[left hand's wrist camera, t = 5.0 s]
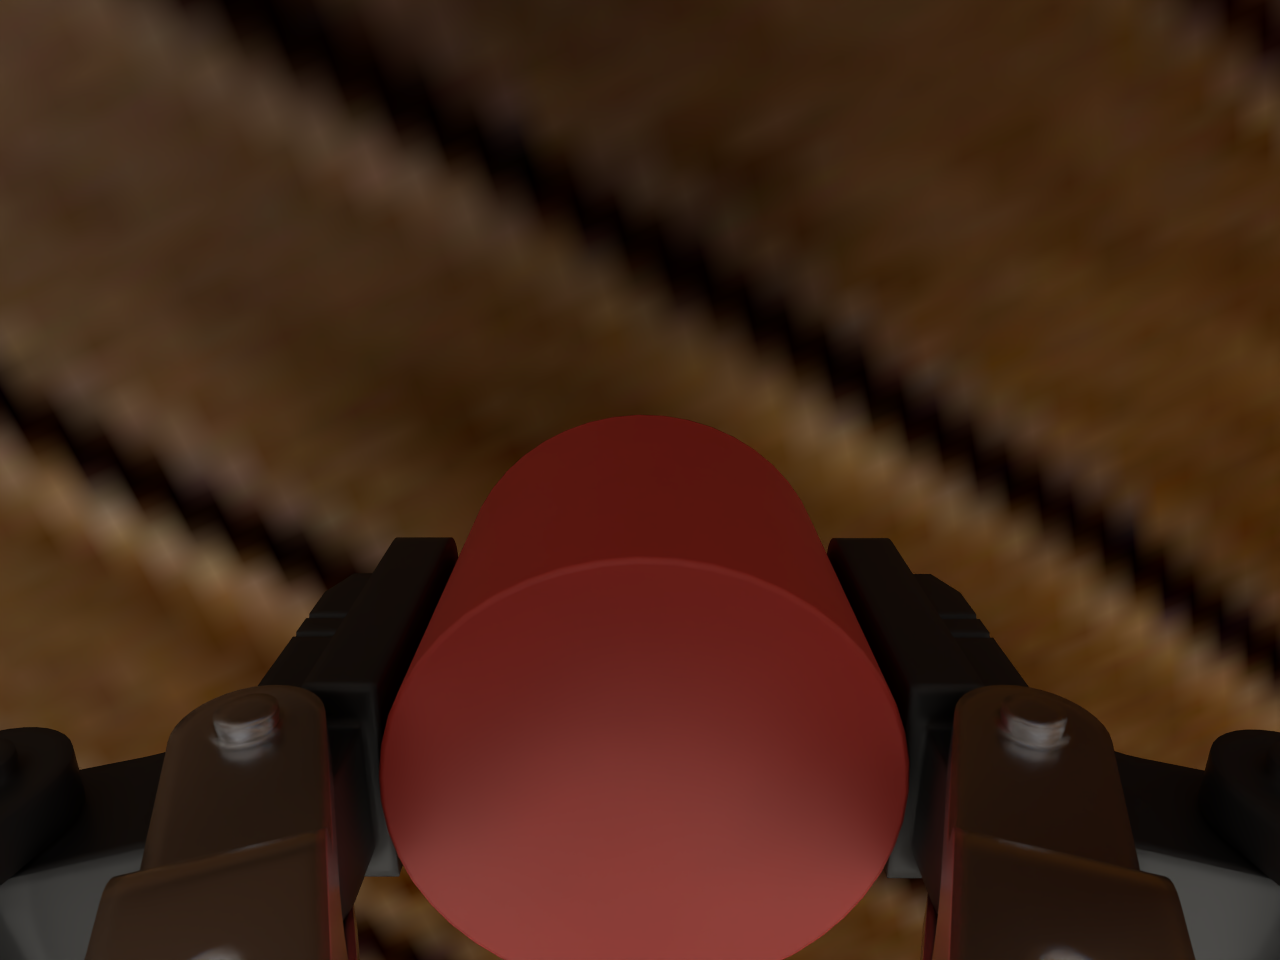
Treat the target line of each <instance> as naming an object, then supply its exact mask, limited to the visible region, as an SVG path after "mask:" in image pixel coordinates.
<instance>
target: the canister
mask: <svg viewBox="0 0 1280 960" xmlns="http://www.w3.org/2000/svg"><path fill="white" fill-rule="evenodd" d="M379 783H380V796H381V804H382V808H383V812H384V816H385V820H386V825H387V829H388V832H389V835H390V837H391V840H392V842H393V845H394V847H395V849H396V852H397V854H398V857H399V859H400V860H401V862H402V864H403V865H404V867H405V869H406V871H407V872H408V874H409V876H410V877H411V879H412V881H413V882H414V884H415V885H416V886H417V887H418V889H419V890H420V891H421V892H422V894H423V895H424V896H425V898H426V899H427V900H428V901H429V903H430V904H431V905H432V906H433V907H434V908H435V909H436V910H437V911H438V912H439V913H440V914H441V915H442V916H443V917H444V918H445V919H446V920H447V921H448V922H449V923H450V924H451V925H453V926H454V927H455V928H457V929H458V930H459V931H461V932H462V933H463V934H465V935H466V936H467V937H468V938H470V939H471V940H472V941H474V942H475V943H477V944H478V945H480V946H482V947H483V948H485V949H487V950H488V951H490V952H492V953H493V954H495V955H497V956H498V957H500V958H502V959H504V960H783V959H785V958H787V957H789V956H791V955H793V954H795V953H797V952H798V951H800V950H802V949H803V948H805V947H806V946H808V945H809V944H811V943H812V942H814V941H815V940H817V939H818V938H820V937H821V936H823V935H824V934H825V933H826V932H827V931H829V930H830V929H831V928H832V927H833V926H835V925H836V924H837V923H838V922H839V921H841V920H842V919H843V918H844V917H845V916H846V915H847V914H848V913H849V912H850V911H851V910H852V909H853V908H854V907H855V906H856V904H857V903H858V902H859V901H860V900H861V899H862V898H863V897H864V896H865V894H866V893H867V892H868V890H869V889H870V887H871V886H872V885H873V883H874V882H875V880H876V879H877V878H878V876H879V875H880V873H881V872H882V870H883V868H884V866H885V864H886V862H887V860H888V858H889V856H890V854H891V853H892V851H893V849H894V846H895V843H896V841H897V838H898V835H899V832H900V829H901V826H902V823H903V820H904V814H905V809H906V803H907V798H908V792H909V754H908V747H907V740H906V733H905V730H904V727H903V723H902V720H901V717H900V714H899V711H898V707H897V704H896V702H895V700H894V698H893V696H892V694H891V691H890V689H889V687H888V685H887V683H886V681H885V679H884V676H883V674H882V672H881V670H880V668H879V666H878V663H877V661H876V659H875V657H874V655H873V653H872V651H871V648H870V646H869V644H868V642H867V640H866V638H865V636H864V633H863V631H862V629H861V627H860V625H859V623H858V621H857V618H856V616H855V614H854V612H853V610H852V608H851V606H850V603H849V601H848V599H847V597H846V595H845V593H844V590H843V588H842V586H841V584H840V582H839V580H838V578H837V575H836V573H835V571H834V569H833V567H832V565H831V563H830V560H829V558H828V556H827V554H826V552H825V550H824V548H823V545H822V543H821V541H820V539H819V537H818V535H817V533H816V530H815V528H814V526H813V524H812V522H811V520H810V518H809V516H808V514H807V512H806V510H805V508H804V506H803V503H802V501H801V500H800V498H799V497H798V495H797V494H796V492H795V491H794V490H793V488H792V487H791V485H790V484H789V482H788V481H787V480H786V479H785V478H784V477H783V476H782V475H781V473H780V472H779V471H778V470H777V469H776V468H775V467H774V466H773V465H772V464H771V463H770V462H769V461H767V460H766V459H765V458H764V457H762V456H761V455H760V454H759V453H758V452H756V451H755V450H754V449H752V448H751V447H749V446H747V445H746V444H744V443H743V442H741V441H739V440H738V439H736V438H734V437H732V436H730V435H728V434H726V433H724V432H721V431H719V430H717V429H715V428H712V427H709V426H706V425H703V424H700V423H696V422H693V421H690V420H685V419H679V418H673V417H667V416H653V415H632V416H620V417H612V418H607V419H602V420H598V421H593V422H589V423H586V424H583V425H580V426H577V427H575V428H572V429H569V430H566V431H564V432H562V433H560V434H558V435H556V436H554V437H552V438H550V439H548V440H546V441H544V442H543V443H542V444H540V445H539V446H537V447H536V448H534V449H533V450H531V451H530V452H528V453H527V454H526V455H524V456H523V457H522V458H521V459H520V460H519V461H518V462H517V463H515V464H514V465H513V466H512V467H511V468H510V469H509V470H508V471H507V472H506V473H505V474H504V476H503V477H502V478H501V479H500V480H499V482H498V483H497V484H496V485H495V486H494V488H493V489H492V491H491V492H490V494H489V495H488V497H487V499H486V500H485V502H484V504H483V505H482V507H481V509H480V511H479V513H478V515H477V518H476V520H475V522H474V524H473V527H472V529H471V531H470V533H469V535H468V538H467V540H466V542H465V544H464V547H463V549H462V551H461V553H460V555H459V558H458V560H457V562H456V564H455V567H454V569H453V571H452V573H451V575H450V578H449V580H448V582H447V584H446V587H445V589H444V591H443V593H442V595H441V598H440V600H439V602H438V604H437V607H436V609H435V611H434V613H433V615H432V618H431V620H430V622H429V624H428V627H427V629H426V631H425V633H424V635H423V638H422V640H421V642H420V644H419V647H418V649H417V651H416V653H415V656H414V658H413V660H412V662H411V664H410V667H409V669H408V671H407V673H406V676H405V678H404V680H403V682H402V684H401V687H400V689H399V691H398V694H397V696H396V698H395V701H394V703H393V705H392V707H391V710H390V712H389V714H388V718H387V722H386V726H385V730H384V734H383V738H382V742H381V751H380V763H379Z"/></svg>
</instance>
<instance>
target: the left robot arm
mask: <svg viewBox="0 0 1280 960" xmlns="http://www.w3.org/2000/svg"><path fill="white" fill-rule="evenodd" d="M827 556H828V558H829V560H830V563H831V565H832V567H833V569H834V571H835V573H836V575H837V578H838V580H839V582H840V584H841V586H842V588H843V590H844V593H845V595H846V597H847V599H848V601H849V603H850V606H851V608H852V610H853V612H854V614H855V616H856V618H857V621H858V623H859V625H860V627H861V629H862V631H863V633H864V636H865V638H866V640H867V642H868V644H869V646H870V648H871V651H872V653H873V655H874V657H875V659H876V661H877V663H878V666H879V668H880V670H881V672H882V674H883V676H884V679H885V681H886V683H887V685H888V687H889V689H890V691H891V694H892V696H893V698H894V700H895V702H896V704H897V707H898V711H899V714H900V717H901V720H902V723H903V727H904V730H905V733H906V740H907V747H908V754H909V792H908V798H907V803H906V809H905V814H904V820H903V823H902V826H901V829H900V832H899V835H898V838H897V841H896V843H895V846H894V849H893V851H892V853H891V854H890V856H889V858H888V860H887V862H886V864H885V866H884V870H885V873H886V876H887V878H922V879H923V881H924V884H925V886H926V889H927V892H928V896H927V903H926V909H925V916H924V923H923V933H922V946H921V959H920V960H1280V732H1275V731H1266V730H1239V731H1233V732H1229V733H1226V734H1224V735H1222V736H1220V737H1218V738H1217V739H1216V740H1215V741H1214V742H1213V744H1212V747H1211V749H1210V753H1209V757H1208V761H1207V764H1206V768H1205V771H1203V770H1198V769H1193V768H1188V767H1183V766H1178V765H1173V764H1168V763H1163V762H1158V761H1152V760H1147V759H1142V758H1138V757H1134V756H1129V755H1125V754H1122V753H1119V752H1116V751H1114V748H1113V743H1112V740H1111V737H1110V735H1109V733H1108V731H1107V730H1106V728H1105V727H1104V725H1103V724H1102V723H1101V722H1100V721H1099V720H1098V719H1097V718H1096V717H1095V716H1093V715H1092V714H1091V713H1089V712H1088V711H1087V710H1085V709H1084V708H1082V707H1080V706H1079V705H1077V704H1075V703H1073V702H1071V701H1069V700H1067V699H1065V698H1063V697H1060V696H1058V695H1055V694H1052V693H1049V692H1046V691H1043V690H1039V689H1034V688H1030V687H1028V685H1027V684H1026V683H1025V681H1024V680H1023V678H1022V677H1021V676H1020V674H1019V673H1018V672H1017V670H1016V669H1015V667H1014V666H1013V665H1012V663H1011V662H1010V661H1009V659H1008V658H1007V656H1006V655H1005V654H1004V652H1003V651H1002V649H1001V648H1000V647H999V645H998V644H997V643H996V641H995V640H994V638H990V636H989V632H988V630H987V629H986V627H985V626H984V625H983V623H982V622H981V621H980V619H976V614H975V612H974V611H973V610H972V608H971V607H970V605H969V604H968V603H967V601H966V600H965V599H964V597H963V596H962V594H961V593H960V592H958V591H957V590H955V589H953V588H952V587H950V586H949V585H947V584H946V583H944V582H942V581H941V580H939V579H938V578H936V577H934V576H933V575H931V574H912V572H911V571H910V569H909V567H908V566H907V564H906V563H905V561H904V560H903V558H902V557H901V555H900V554H899V552H898V550H897V549H896V547H895V546H894V544H893V543H892V541H891V540H890V539H888V538H832V539H831V541H830V543H829V546H828V551H827ZM457 560H458V553H457V547H456V543H455V541H454V539H453V538H395V539H394V541H393V542H392V544H391V545H390V547H389V548H388V550H387V551H386V553H385V555H384V556H383V558H382V559H381V561H380V563H379V564H378V566H377V567H376V569H375V570H374V572H373V573H354V574H353V575H351V576H349V577H348V578H346V579H345V580H343V581H342V582H340V583H338V584H337V585H335V586H334V587H332V588H331V589H329V590H327V591H326V592H325V593H324V594H323V595H322V597H321V598H320V600H319V601H318V602H317V604H316V605H315V607H314V608H313V609H312V611H311V612H310V614H309V618H306V619H305V621H304V622H303V623H302V625H301V626H300V628H299V629H298V630H297V632H296V637H292V639H291V640H290V642H289V643H288V644H287V646H286V647H285V649H284V650H283V651H282V653H281V654H280V656H279V657H278V658H277V660H276V661H275V663H274V664H273V665H272V667H271V668H270V670H269V671H268V672H267V674H266V675H265V676H264V678H263V679H262V681H261V682H260V683H259V685H258V686H256V687H250V688H246V689H241V690H237V691H234V692H231V693H228V694H225V695H222V696H220V697H217V698H215V699H213V700H211V701H209V702H207V703H205V704H203V705H201V706H200V707H198V708H196V709H195V710H193V711H192V712H191V713H189V714H188V715H187V716H185V717H184V718H183V719H182V720H181V721H180V722H179V723H178V724H177V725H176V727H175V728H174V730H173V731H172V733H171V735H170V737H169V740H168V743H167V748H166V752H164V753H160V754H156V755H152V756H148V757H143V758H138V759H133V760H128V761H123V762H117V763H112V764H107V765H102V766H97V767H92V768H87V769H82V770H79V767H78V764H77V760H76V756H75V753H74V749H73V745H72V743H71V741H70V739H69V738H68V737H67V736H66V735H64V734H62V733H60V732H59V731H56V730H52V729H48V728H39V727H23V728H14V729H7V730H1V731H0V960H360V959H359V946H358V933H357V923H356V916H355V909H354V902H355V900H356V897H357V895H358V892H359V889H360V887H361V884H362V882H363V879H364V876H399V875H400V872H401V869H402V866H403V864H402V862H401V860H400V859H399V857H398V854H397V852H396V849H395V847H394V845H393V842H392V840H391V837H390V835H389V832H388V829H387V825H386V820H385V816H384V812H383V808H382V804H381V796H380V783H379V763H380V751H381V742H382V738H383V734H384V730H385V726H386V722H387V718H388V714H389V712H390V710H391V707H392V705H393V703H394V701H395V698H396V696H397V694H398V691H399V689H400V687H401V684H402V682H403V680H404V678H405V676H406V673H407V671H408V669H409V667H410V664H411V662H412V660H413V658H414V656H415V653H416V651H417V649H418V647H419V644H420V642H421V640H422V638H423V635H424V633H425V631H426V629H427V627H428V624H429V622H430V620H431V618H432V615H433V613H434V611H435V609H436V607H437V604H438V602H439V600H440V598H441V595H442V593H443V591H444V589H445V587H446V584H447V582H448V580H449V578H450V575H451V573H452V571H453V569H454V567H455V564H456V562H457Z"/></svg>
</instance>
